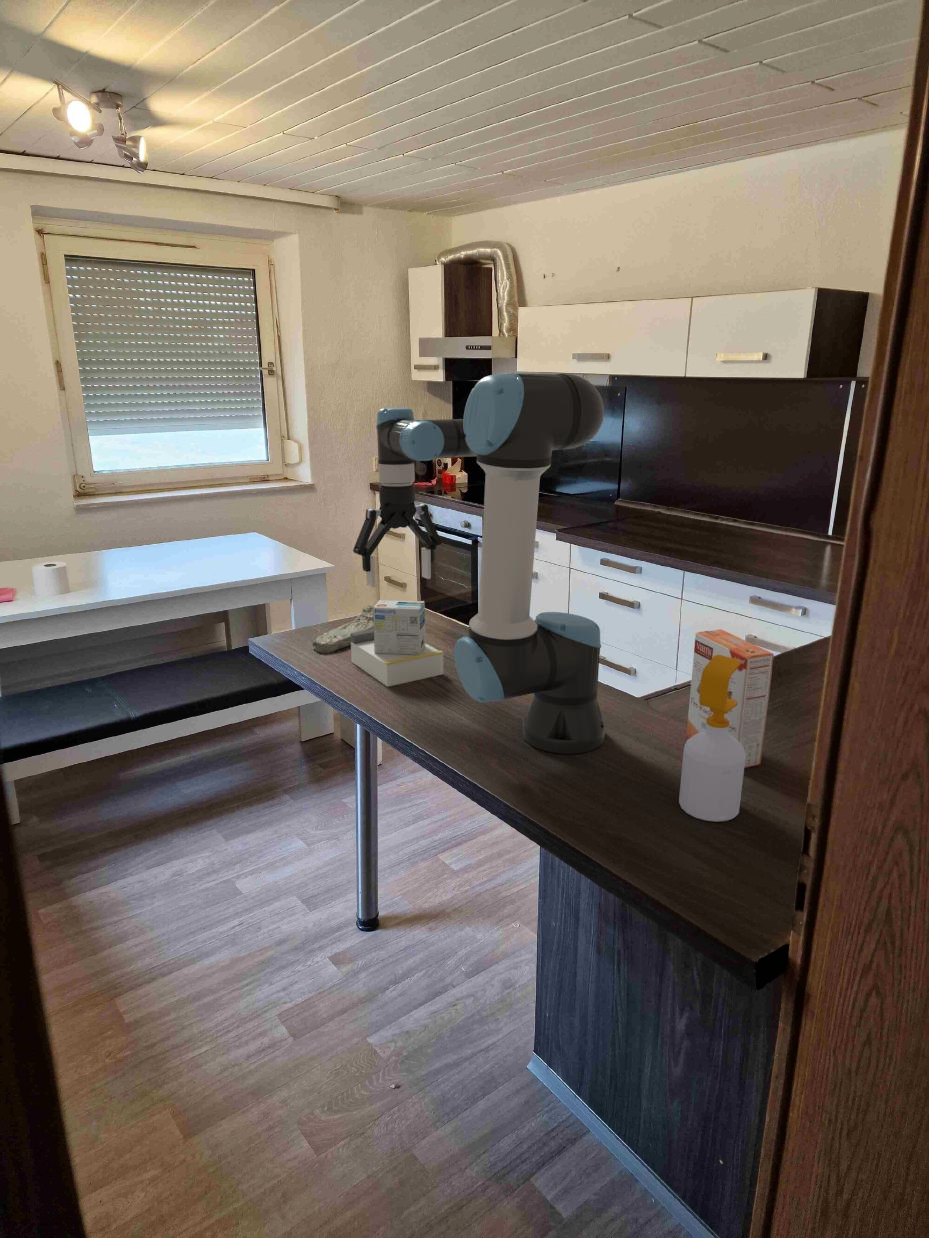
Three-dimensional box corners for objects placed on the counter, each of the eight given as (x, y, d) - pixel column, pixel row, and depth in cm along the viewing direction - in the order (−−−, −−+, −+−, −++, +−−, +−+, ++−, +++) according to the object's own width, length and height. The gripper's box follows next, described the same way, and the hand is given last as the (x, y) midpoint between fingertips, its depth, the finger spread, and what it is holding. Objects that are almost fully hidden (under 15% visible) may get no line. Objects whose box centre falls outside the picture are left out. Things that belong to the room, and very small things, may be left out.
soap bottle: (748, 806, 126) (766, 659, 119) (723, 830, 120) (740, 675, 113) (695, 787, 132) (709, 645, 125) (668, 808, 126) (681, 660, 118)
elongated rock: (302, 655, 197) (334, 664, 192) (301, 635, 195) (333, 644, 190) (385, 611, 225) (415, 619, 220) (385, 594, 223) (415, 601, 218)
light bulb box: (426, 645, 183) (425, 600, 180) (421, 656, 177) (420, 608, 174) (379, 644, 184) (378, 598, 181) (373, 654, 178) (372, 607, 175)
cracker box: (683, 738, 150) (693, 631, 143) (710, 733, 152) (721, 627, 145) (732, 772, 137) (746, 656, 131) (761, 766, 139) (776, 652, 133)
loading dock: (443, 674, 180) (443, 644, 178) (387, 686, 173) (386, 656, 171) (404, 651, 195) (404, 623, 193) (351, 661, 187) (350, 633, 185)
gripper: (438, 477, 179) (439, 571, 185) (334, 485, 166) (339, 585, 172) (456, 481, 173) (456, 577, 179) (350, 490, 160) (354, 593, 166)
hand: (399, 581), depth 176 cm, fingers open, 13 cm apart
